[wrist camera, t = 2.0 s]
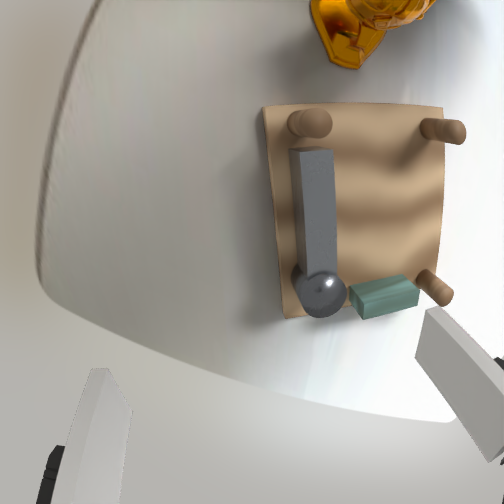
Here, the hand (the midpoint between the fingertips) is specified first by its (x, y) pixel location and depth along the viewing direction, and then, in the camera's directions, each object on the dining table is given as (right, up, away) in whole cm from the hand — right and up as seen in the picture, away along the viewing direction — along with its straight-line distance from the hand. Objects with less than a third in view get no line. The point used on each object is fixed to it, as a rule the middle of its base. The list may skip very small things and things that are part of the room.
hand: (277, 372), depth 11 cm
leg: (+4, +7, +18) cm, 20 cm away
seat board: (+11, +9, +20) cm, 25 cm away
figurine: (+9, +28, +12) cm, 32 cm away
